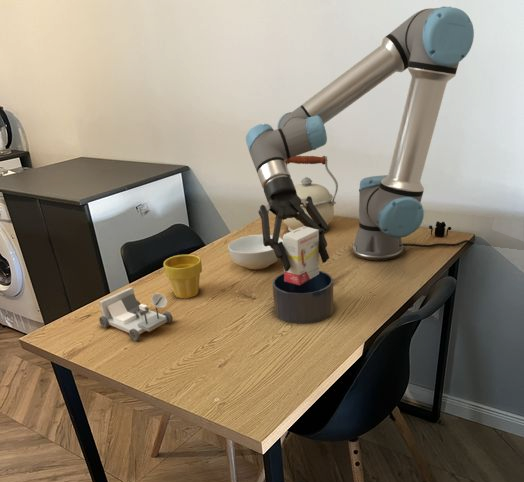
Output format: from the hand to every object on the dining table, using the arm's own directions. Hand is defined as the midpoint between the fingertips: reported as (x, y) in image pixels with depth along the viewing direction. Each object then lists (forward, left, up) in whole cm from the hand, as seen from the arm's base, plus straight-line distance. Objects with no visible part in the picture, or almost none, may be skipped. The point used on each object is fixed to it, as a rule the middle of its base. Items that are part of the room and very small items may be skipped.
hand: (307, 264), depth 131 cm
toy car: (+40, -16, -14) cm, 45 cm away
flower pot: (+24, -29, -14) cm, 40 cm away
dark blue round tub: (0, -3, -13) cm, 14 cm away
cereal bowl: (-1, -38, -14) cm, 40 cm away
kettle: (-28, -61, -14) cm, 69 cm away
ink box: (0, -3, -5) cm, 6 cm away
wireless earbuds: (-61, -28, -14) cm, 69 cm away
